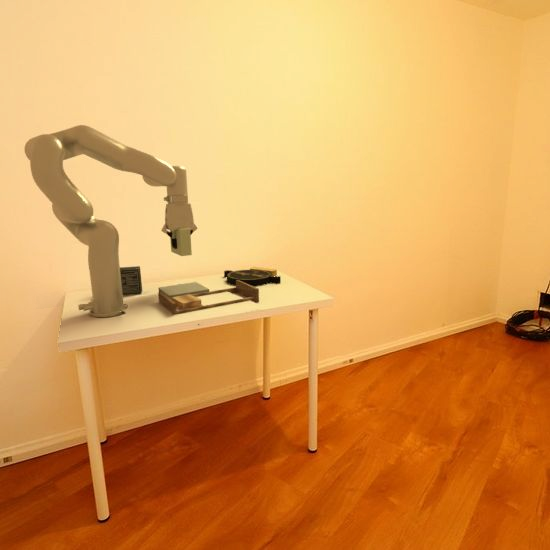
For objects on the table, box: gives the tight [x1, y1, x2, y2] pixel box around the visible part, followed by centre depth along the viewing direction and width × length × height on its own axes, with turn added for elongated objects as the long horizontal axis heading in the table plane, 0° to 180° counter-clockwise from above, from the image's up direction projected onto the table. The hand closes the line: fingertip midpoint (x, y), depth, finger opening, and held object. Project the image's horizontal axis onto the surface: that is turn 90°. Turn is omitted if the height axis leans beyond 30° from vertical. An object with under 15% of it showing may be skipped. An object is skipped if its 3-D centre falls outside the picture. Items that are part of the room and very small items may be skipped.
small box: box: [120, 265, 143, 296], centre depth 155 cm, size 11×6×10 cm, turn 104°
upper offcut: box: [172, 294, 202, 309], centre depth 136 cm, size 7×9×2 cm
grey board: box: [157, 281, 210, 298], centre depth 153 cm, size 16×14×2 cm
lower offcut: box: [176, 303, 204, 310], centre depth 137 cm, size 8×10×2 cm
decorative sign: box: [223, 266, 282, 287], centre depth 177 cm, size 29×3×25 cm
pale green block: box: [169, 228, 193, 257], centre depth 148 cm, size 4×12×10 cm, turn 33°
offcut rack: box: [157, 280, 260, 316], centre depth 141 cm, size 32×16×5 cm, turn 123°
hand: (180, 247), depth 149 cm, fingers closed on pale green block, 4 cm apart
